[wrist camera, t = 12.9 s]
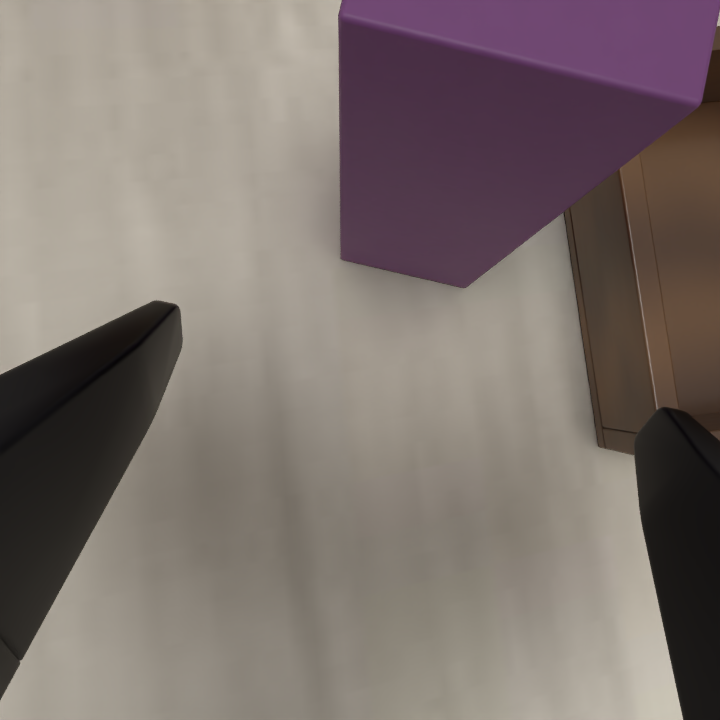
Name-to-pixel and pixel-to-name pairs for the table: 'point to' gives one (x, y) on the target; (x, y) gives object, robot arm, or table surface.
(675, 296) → the wooden tray
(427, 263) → the block
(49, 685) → the table surface
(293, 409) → the table surface
